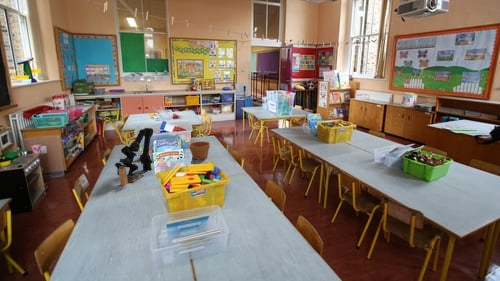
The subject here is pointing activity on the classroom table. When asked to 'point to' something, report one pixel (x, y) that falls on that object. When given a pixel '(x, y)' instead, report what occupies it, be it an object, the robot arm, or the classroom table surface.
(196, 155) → the flower pot
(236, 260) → the classroom table surface
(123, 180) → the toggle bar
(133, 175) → the keeper
